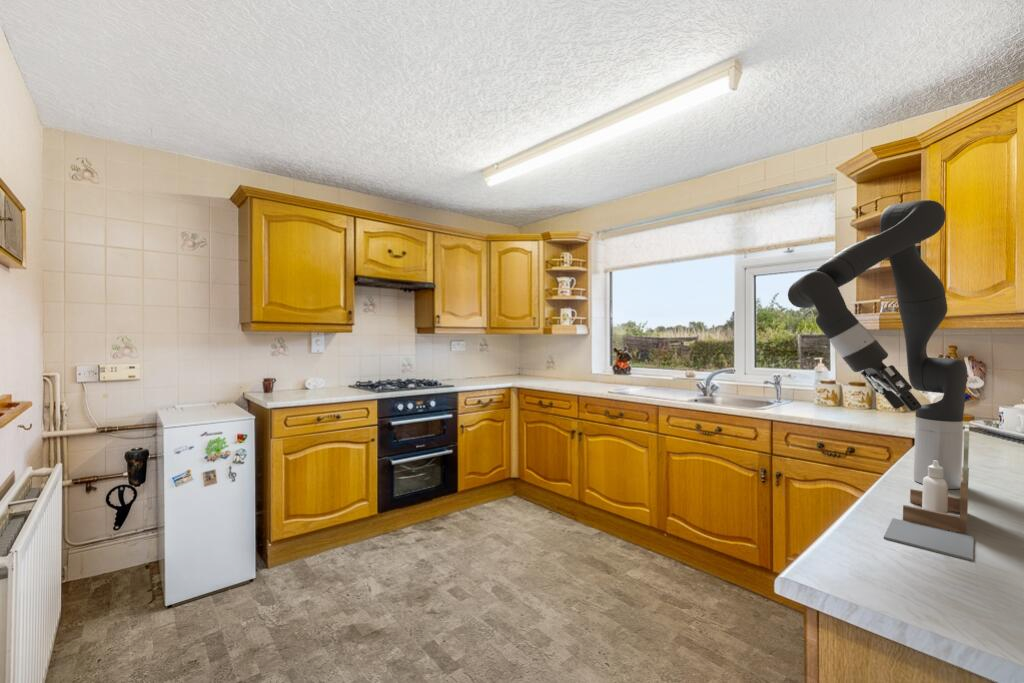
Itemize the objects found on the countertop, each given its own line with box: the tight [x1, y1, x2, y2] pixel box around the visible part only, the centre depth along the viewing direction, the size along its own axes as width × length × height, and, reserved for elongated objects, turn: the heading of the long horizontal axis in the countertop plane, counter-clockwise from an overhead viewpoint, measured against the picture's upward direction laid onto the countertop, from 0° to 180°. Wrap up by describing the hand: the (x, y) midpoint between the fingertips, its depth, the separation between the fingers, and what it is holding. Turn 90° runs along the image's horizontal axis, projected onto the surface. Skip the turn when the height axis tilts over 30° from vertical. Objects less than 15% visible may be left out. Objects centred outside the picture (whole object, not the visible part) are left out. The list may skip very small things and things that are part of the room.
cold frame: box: [902, 421, 970, 535], centre depth 99 cm, size 16×10×20 cm, turn 135°
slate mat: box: [883, 517, 975, 562], centre depth 88 cm, size 13×12×1 cm
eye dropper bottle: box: [921, 460, 949, 514], centre depth 99 cm, size 4×6×12 cm
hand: (908, 408), depth 102 cm, fingers open, 8 cm apart
